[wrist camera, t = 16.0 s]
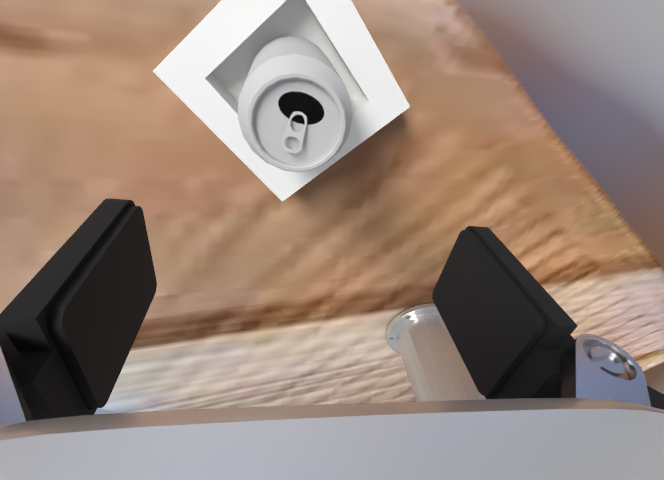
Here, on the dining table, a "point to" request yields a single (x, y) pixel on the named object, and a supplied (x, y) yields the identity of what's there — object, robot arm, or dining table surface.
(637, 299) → the dining table surface
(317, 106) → the can
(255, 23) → the riser
